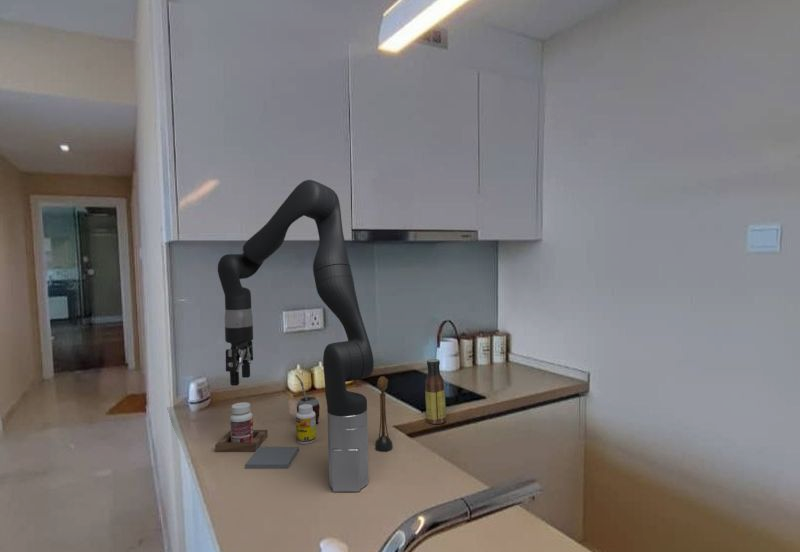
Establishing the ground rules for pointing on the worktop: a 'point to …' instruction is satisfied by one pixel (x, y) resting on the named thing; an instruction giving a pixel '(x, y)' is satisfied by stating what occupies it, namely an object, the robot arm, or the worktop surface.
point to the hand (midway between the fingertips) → (240, 381)
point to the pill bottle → (241, 423)
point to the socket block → (241, 443)
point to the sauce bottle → (435, 394)
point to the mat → (272, 457)
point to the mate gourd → (309, 402)
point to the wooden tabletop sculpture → (383, 420)
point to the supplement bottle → (305, 424)
